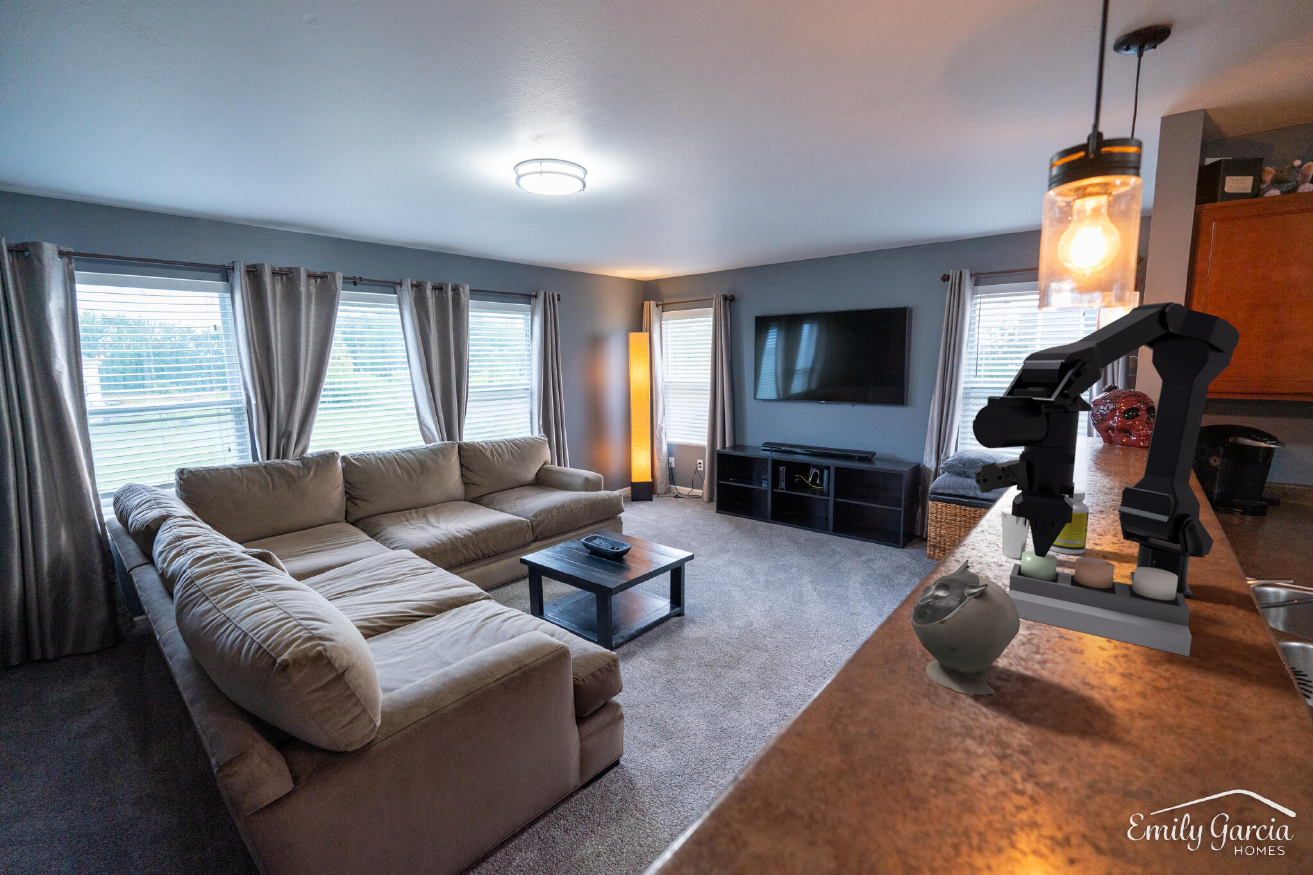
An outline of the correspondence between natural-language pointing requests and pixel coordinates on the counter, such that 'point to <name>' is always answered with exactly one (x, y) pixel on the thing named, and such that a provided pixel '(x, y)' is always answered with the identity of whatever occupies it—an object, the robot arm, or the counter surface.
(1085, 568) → the button terracotta
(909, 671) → the counter surface
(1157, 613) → the button panel
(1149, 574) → the button ivory
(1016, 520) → the milkshake
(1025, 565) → the button sage
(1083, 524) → the pill bottle
